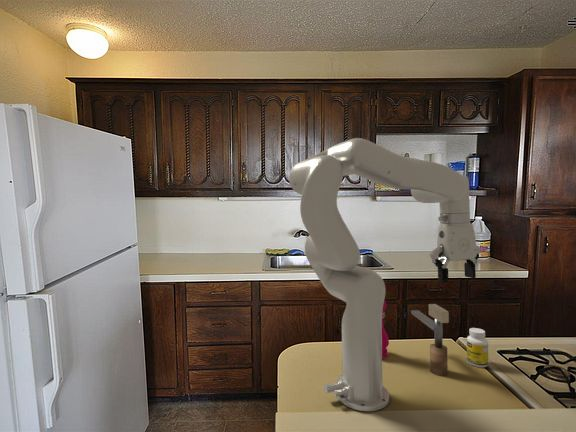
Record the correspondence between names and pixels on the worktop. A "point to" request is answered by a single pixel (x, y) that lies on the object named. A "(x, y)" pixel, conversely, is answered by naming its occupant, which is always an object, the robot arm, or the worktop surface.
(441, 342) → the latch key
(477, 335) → the supplement bottle
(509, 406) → the worktop surface
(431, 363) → the post
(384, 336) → the pepper mill
